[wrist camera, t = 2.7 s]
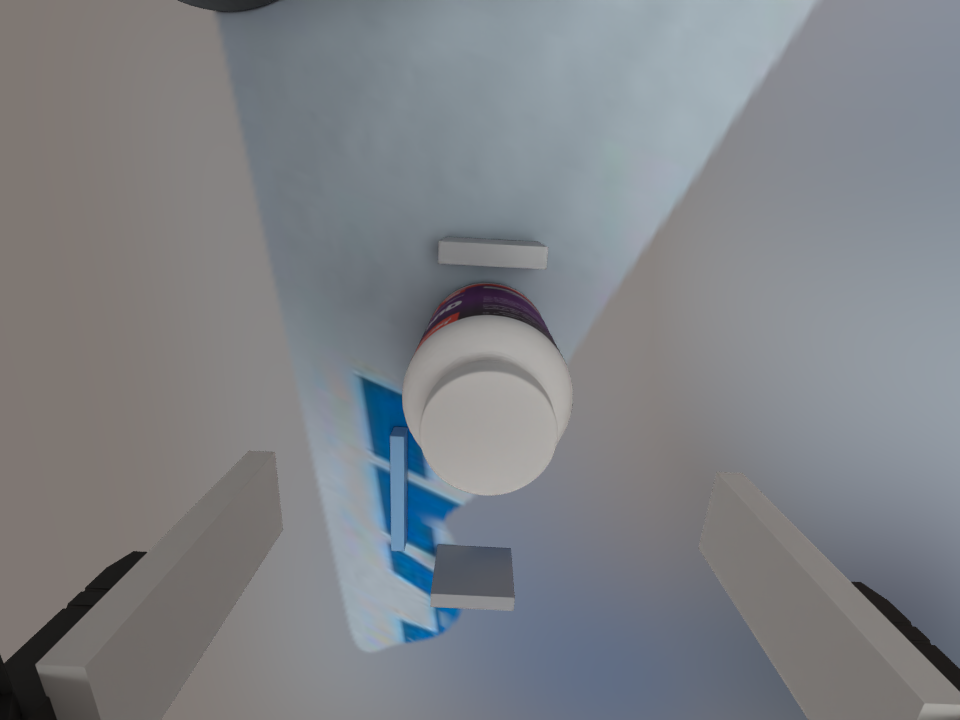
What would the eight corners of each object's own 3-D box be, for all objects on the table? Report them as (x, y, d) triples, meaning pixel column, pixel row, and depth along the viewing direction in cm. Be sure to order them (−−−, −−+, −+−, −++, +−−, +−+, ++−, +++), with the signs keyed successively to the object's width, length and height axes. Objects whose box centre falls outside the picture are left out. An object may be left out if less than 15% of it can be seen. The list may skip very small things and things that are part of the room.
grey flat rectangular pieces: (395, 554, 37) (382, 604, 32) (392, 233, 29) (374, 237, 24) (509, 560, 37) (513, 610, 32) (537, 241, 29) (548, 247, 25)
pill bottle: (450, 262, 30) (421, 304, 16) (562, 303, 31) (625, 377, 17) (414, 370, 32) (362, 487, 18) (518, 406, 33) (543, 543, 19)
